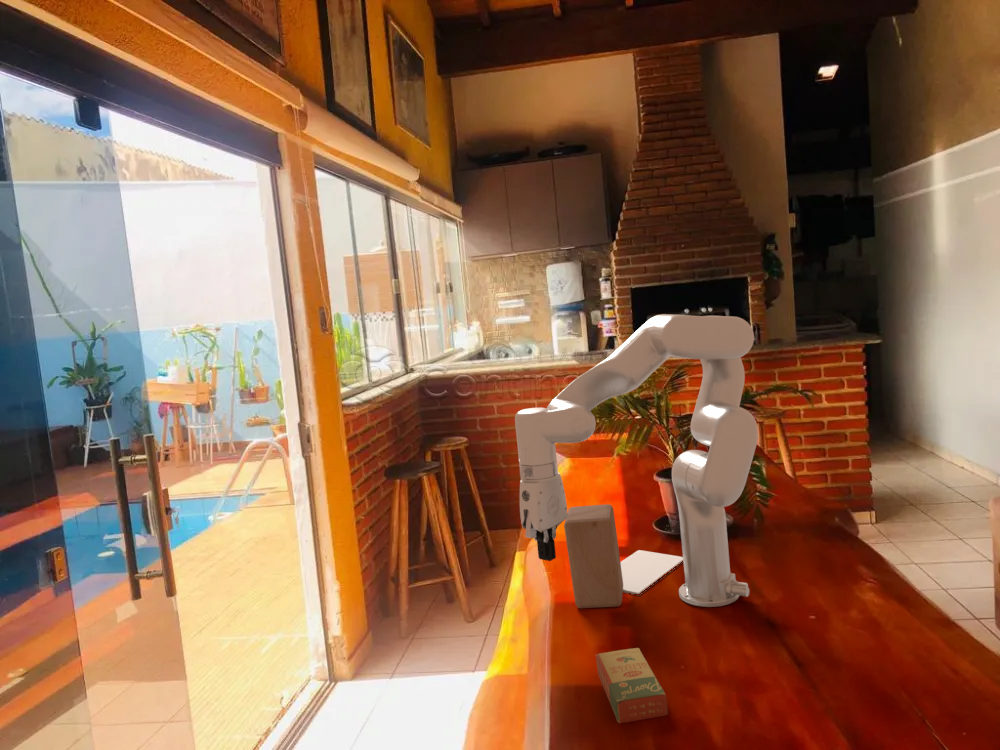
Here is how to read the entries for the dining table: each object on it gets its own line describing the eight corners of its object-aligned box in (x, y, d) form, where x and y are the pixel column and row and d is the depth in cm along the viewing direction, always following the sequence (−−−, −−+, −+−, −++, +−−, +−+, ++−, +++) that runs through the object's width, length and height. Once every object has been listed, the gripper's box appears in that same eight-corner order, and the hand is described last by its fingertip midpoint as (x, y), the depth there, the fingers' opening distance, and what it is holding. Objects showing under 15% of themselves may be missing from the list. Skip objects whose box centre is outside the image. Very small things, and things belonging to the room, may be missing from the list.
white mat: (685, 559, 184) (685, 557, 183) (638, 595, 167) (638, 592, 167) (638, 552, 192) (638, 549, 192) (589, 585, 175) (589, 582, 175)
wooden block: (622, 608, 161) (610, 519, 158) (575, 610, 163) (562, 522, 160) (624, 586, 171) (612, 502, 167) (579, 589, 173) (568, 505, 170)
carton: (642, 668, 137) (639, 645, 137) (669, 717, 121) (667, 692, 121) (596, 675, 137) (594, 652, 136) (618, 725, 121) (616, 700, 120)
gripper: (530, 481, 143) (539, 575, 145) (575, 462, 154) (583, 549, 156) (500, 478, 148) (509, 568, 150) (546, 460, 159) (554, 544, 161)
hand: (547, 558), depth 153 cm, fingers closed
